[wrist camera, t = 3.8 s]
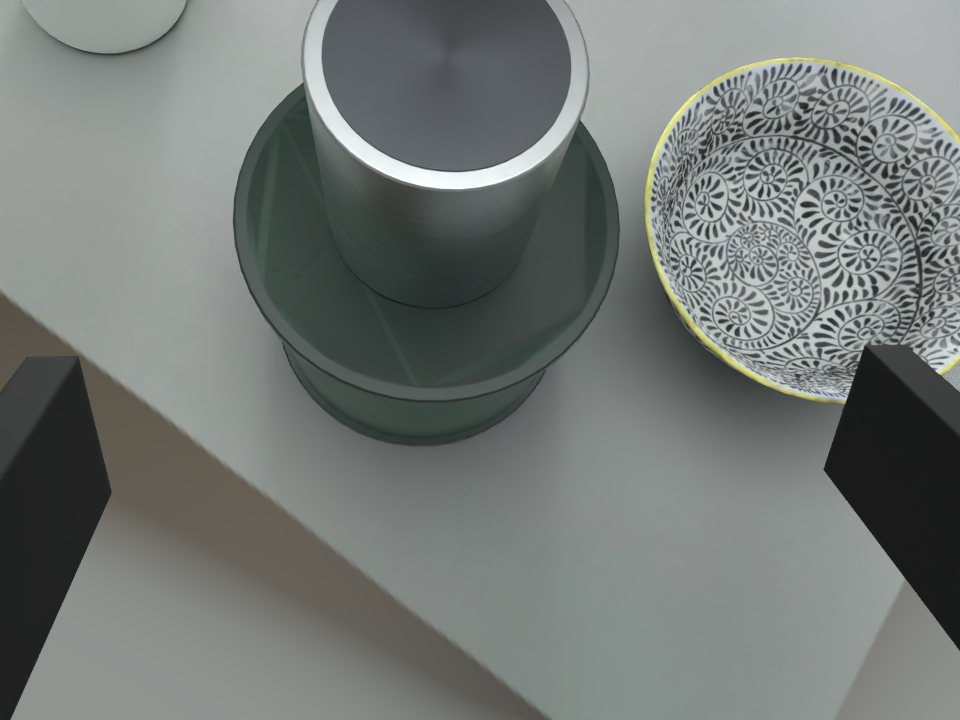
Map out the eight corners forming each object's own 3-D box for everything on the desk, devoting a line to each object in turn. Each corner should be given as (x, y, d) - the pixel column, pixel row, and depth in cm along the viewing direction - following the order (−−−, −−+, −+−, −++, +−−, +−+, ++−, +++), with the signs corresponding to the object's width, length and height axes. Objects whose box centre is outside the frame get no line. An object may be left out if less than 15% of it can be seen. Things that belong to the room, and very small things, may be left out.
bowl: (801, 498, 39) (895, 483, 31) (539, 301, 40) (572, 242, 33) (949, 260, 43) (1062, 198, 36) (709, 87, 44) (771, -7, 37)
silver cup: (286, 200, 28) (238, 35, 19) (439, 86, 30) (458, -112, 21) (423, 350, 27) (437, 248, 18) (571, 224, 29) (648, 76, 20)
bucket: (216, 293, 38) (149, 188, 28) (432, 130, 42) (445, -19, 31) (408, 510, 37) (414, 488, 26) (616, 322, 40) (696, 234, 29)
